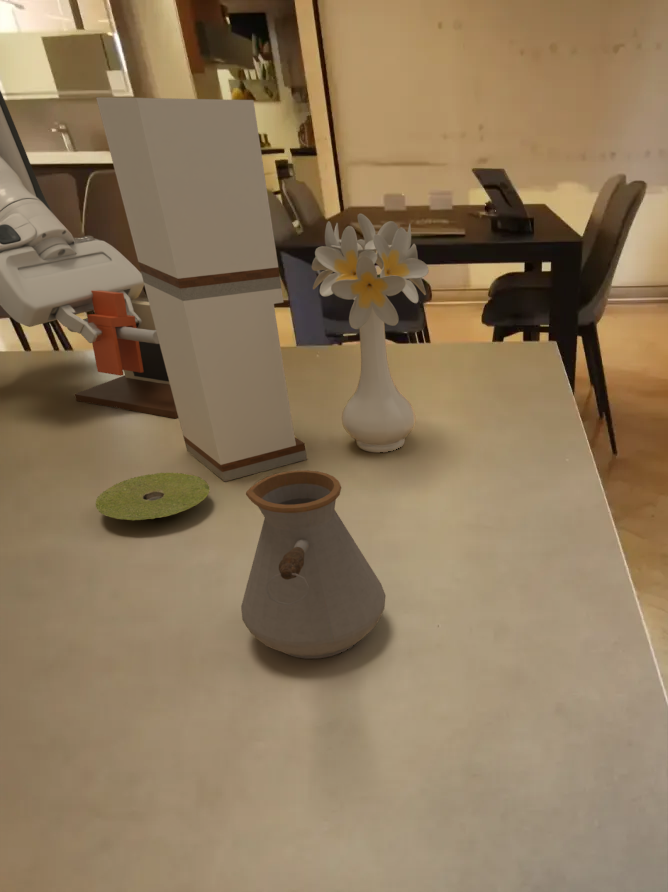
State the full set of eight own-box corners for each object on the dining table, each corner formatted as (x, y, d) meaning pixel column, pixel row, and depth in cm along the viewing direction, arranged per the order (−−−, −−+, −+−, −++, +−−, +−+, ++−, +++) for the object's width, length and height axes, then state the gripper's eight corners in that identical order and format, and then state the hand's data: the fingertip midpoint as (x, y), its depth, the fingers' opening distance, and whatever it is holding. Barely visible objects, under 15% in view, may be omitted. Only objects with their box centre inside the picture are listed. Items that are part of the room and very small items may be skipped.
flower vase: (347, 481, 82) (319, 235, 66) (323, 425, 95) (296, 211, 80) (453, 467, 85) (450, 231, 70) (416, 416, 99) (407, 209, 83)
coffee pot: (252, 598, 62) (215, 434, 53) (382, 587, 64) (368, 425, 54) (230, 779, 45) (170, 585, 36) (406, 757, 47) (392, 566, 38)
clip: (120, 375, 95) (105, 293, 90) (97, 372, 96) (82, 290, 91) (143, 372, 98) (131, 292, 93) (121, 368, 99) (107, 290, 94)
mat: (220, 485, 80) (216, 469, 79) (204, 532, 71) (200, 515, 70) (116, 491, 79) (111, 474, 77) (87, 539, 70) (81, 522, 69)
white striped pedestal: (307, 459, 86) (253, 100, 65) (224, 481, 81) (136, 97, 59) (265, 432, 93) (204, 99, 72) (187, 451, 88) (96, 97, 66)
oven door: (175, 418, 97) (151, 325, 89) (76, 400, 102) (45, 311, 94) (226, 394, 105) (208, 308, 97) (132, 379, 110) (107, 296, 102)
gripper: (90, 251, 101) (163, 330, 104) (-40, 276, 86) (50, 367, 89) (104, 217, 97) (179, 300, 100) (-29, 236, 82) (64, 334, 85)
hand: (117, 332), depth 94 cm, fingers open, 6 cm apart
